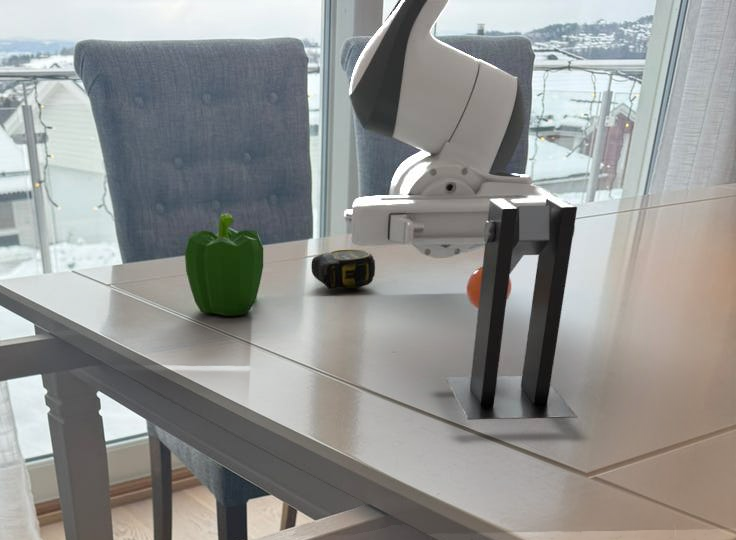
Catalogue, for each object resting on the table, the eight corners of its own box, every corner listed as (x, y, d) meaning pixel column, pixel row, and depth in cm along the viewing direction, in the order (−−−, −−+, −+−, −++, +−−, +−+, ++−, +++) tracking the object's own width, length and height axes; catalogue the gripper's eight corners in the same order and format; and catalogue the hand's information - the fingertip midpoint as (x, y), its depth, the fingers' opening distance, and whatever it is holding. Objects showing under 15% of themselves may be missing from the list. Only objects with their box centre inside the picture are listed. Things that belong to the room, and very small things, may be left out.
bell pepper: (194, 302, 104) (189, 205, 99) (267, 303, 103) (266, 204, 98) (181, 321, 97) (174, 218, 92) (259, 322, 96) (257, 217, 91)
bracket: (443, 391, 77) (461, 194, 69) (541, 389, 76) (570, 191, 68) (465, 434, 68) (489, 215, 60) (575, 433, 68) (613, 212, 60)
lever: (462, 317, 79) (462, 274, 79) (505, 316, 79) (505, 273, 79) (508, 250, 64) (508, 196, 64) (560, 249, 64) (560, 195, 64)
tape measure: (309, 283, 111) (309, 250, 109) (365, 280, 112) (366, 246, 110) (323, 296, 106) (323, 261, 104) (381, 292, 107) (382, 257, 104)
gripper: (343, 178, 95) (354, 198, 83) (544, 174, 94) (584, 193, 83) (341, 244, 98) (352, 272, 87) (535, 240, 98) (572, 268, 86)
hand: (467, 233), depth 85 cm, fingers open, 8 cm apart
